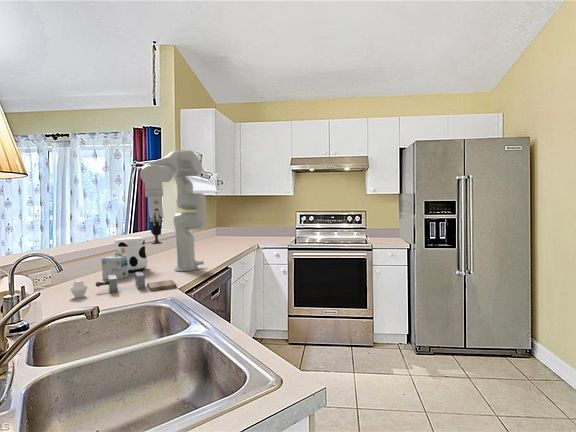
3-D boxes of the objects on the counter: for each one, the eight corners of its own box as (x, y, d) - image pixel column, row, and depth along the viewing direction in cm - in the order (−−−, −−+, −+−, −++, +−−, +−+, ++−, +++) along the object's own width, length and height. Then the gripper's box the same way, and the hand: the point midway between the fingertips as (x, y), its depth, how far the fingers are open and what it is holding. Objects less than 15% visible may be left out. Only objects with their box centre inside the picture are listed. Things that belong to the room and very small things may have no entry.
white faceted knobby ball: (72, 299, 155) (70, 282, 155) (70, 296, 160) (68, 280, 160) (89, 296, 159) (88, 280, 158) (86, 294, 164) (85, 277, 163)
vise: (142, 284, 179) (141, 271, 178) (145, 288, 170) (144, 275, 170) (95, 290, 170) (95, 276, 170) (96, 295, 161) (95, 281, 161)
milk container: (107, 273, 208) (105, 240, 207) (127, 267, 225) (125, 236, 224) (135, 274, 204) (134, 240, 203) (154, 267, 221) (152, 236, 220)
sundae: (149, 244, 167) (148, 210, 166) (148, 243, 173) (146, 210, 172) (165, 243, 170) (163, 209, 169) (163, 242, 176) (161, 209, 175)
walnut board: (171, 283, 180) (171, 279, 180) (176, 287, 170) (176, 284, 170) (147, 286, 175) (147, 283, 174) (150, 291, 165) (150, 287, 165)
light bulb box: (128, 276, 199) (127, 255, 199) (122, 279, 193) (121, 257, 192) (109, 276, 200) (108, 255, 200) (102, 279, 194) (100, 258, 193)
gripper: (165, 192, 164) (168, 235, 165) (160, 193, 179) (162, 232, 180) (147, 193, 161) (149, 236, 162) (143, 193, 176) (145, 233, 177)
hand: (156, 233), depth 171 cm, fingers closed on sundae, 4 cm apart
